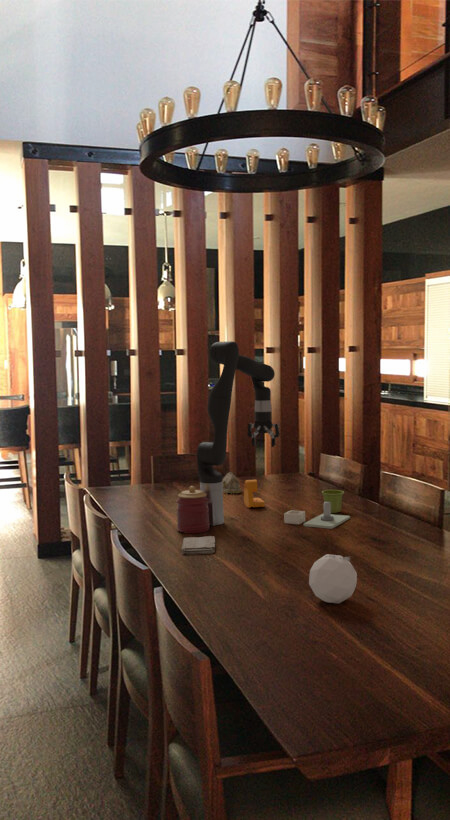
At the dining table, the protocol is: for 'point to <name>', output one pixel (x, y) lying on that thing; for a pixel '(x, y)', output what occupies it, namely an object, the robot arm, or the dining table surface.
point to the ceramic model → (231, 484)
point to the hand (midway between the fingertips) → (263, 446)
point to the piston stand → (326, 519)
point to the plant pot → (333, 499)
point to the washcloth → (198, 545)
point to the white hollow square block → (294, 517)
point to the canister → (192, 511)
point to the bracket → (251, 494)
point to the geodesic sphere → (333, 578)
